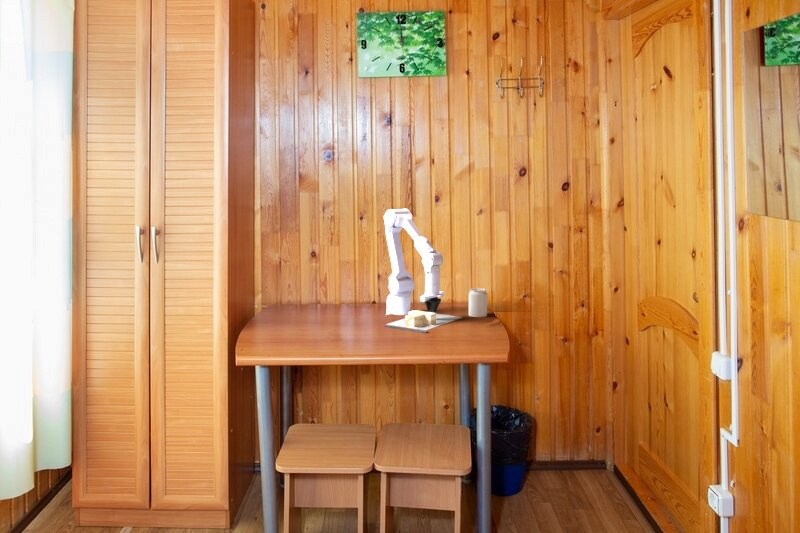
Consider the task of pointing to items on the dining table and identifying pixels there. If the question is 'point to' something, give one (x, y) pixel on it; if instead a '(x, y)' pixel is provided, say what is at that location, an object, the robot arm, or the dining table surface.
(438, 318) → the board
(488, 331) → the dining table surface
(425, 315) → the block
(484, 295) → the can
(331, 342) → the dining table surface
